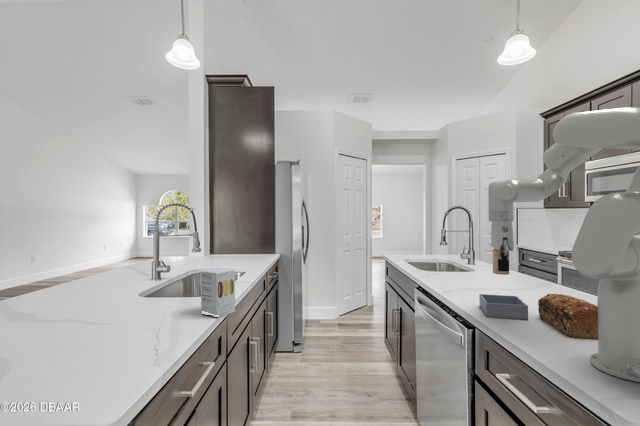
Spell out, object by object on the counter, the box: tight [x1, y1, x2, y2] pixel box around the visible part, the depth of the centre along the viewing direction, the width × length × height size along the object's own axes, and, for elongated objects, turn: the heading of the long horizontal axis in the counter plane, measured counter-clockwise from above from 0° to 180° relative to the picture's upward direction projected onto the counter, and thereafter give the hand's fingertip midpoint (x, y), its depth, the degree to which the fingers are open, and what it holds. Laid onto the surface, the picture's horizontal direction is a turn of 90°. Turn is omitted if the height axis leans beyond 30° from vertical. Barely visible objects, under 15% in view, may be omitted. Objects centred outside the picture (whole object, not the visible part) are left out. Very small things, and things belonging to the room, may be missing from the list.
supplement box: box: [200, 267, 236, 318], centre depth 122 cm, size 10×9×17 cm
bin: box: [478, 293, 529, 321], centre depth 116 cm, size 13×13×5 cm
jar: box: [492, 248, 510, 276], centre depth 108 cm, size 5×5×8 cm
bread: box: [537, 293, 598, 340], centre depth 101 cm, size 19×11×10 cm, turn 169°
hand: (501, 268), depth 108 cm, fingers closed on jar, 5 cm apart
